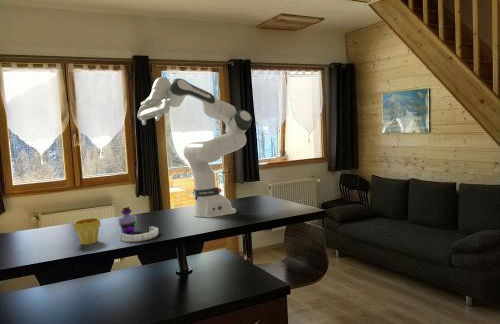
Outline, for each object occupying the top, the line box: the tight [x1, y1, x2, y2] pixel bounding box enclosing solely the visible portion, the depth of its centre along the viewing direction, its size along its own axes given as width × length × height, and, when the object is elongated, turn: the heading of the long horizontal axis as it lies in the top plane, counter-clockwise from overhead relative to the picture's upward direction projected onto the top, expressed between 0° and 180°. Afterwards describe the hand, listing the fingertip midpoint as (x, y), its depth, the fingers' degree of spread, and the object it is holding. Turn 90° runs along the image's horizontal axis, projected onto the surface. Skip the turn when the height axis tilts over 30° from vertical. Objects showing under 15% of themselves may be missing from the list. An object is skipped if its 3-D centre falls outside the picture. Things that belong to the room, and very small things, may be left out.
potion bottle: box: [117, 206, 137, 235], centre depth 188 cm, size 9×9×12 cm
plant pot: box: [73, 217, 101, 246], centre depth 174 cm, size 10×10×10 cm
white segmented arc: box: [118, 226, 159, 243], centre depth 177 cm, size 11×16×2 cm
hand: (150, 122), depth 210 cm, fingers open, 8 cm apart
